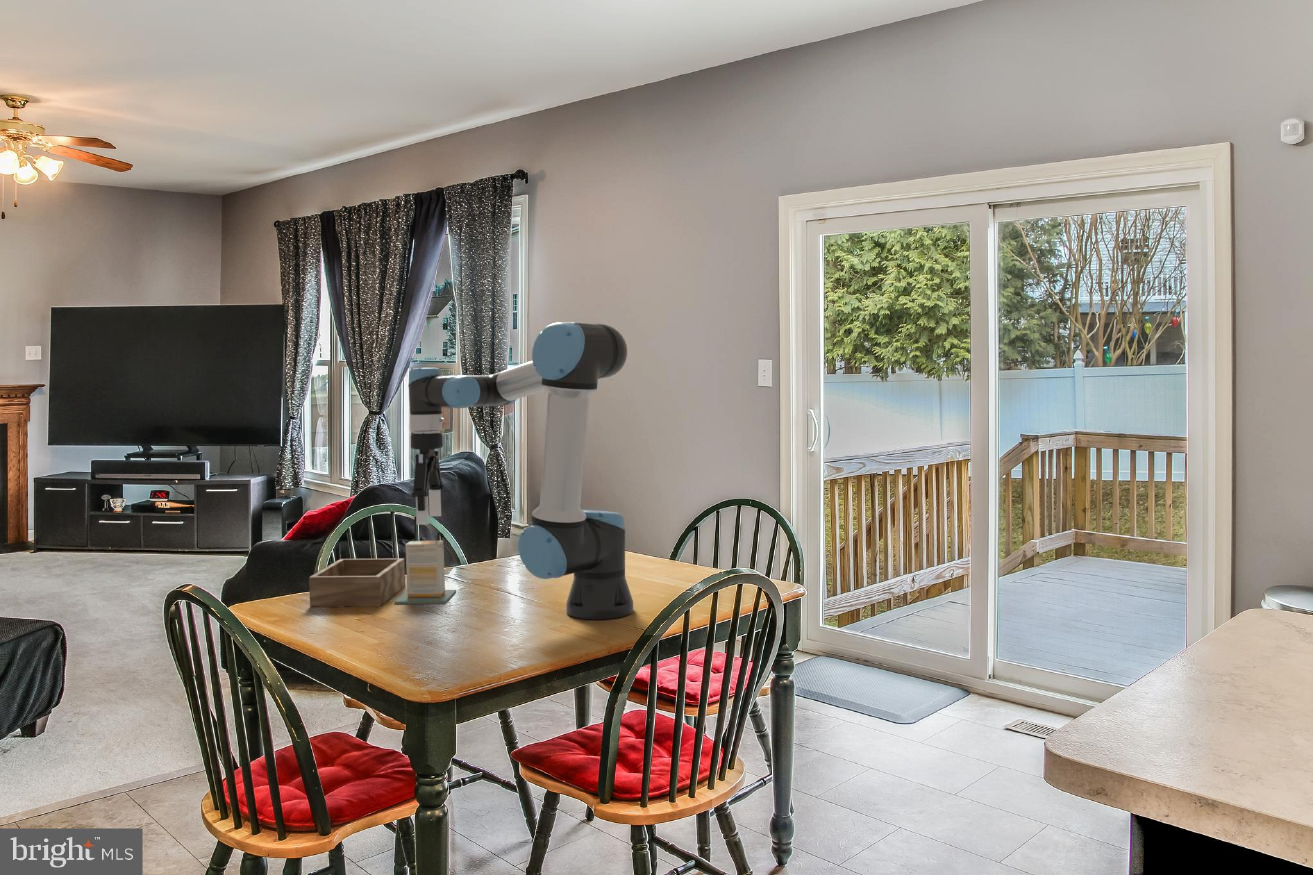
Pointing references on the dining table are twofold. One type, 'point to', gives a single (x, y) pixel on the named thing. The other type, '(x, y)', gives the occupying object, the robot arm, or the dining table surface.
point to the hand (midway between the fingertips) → (429, 520)
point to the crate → (357, 582)
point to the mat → (425, 599)
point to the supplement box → (425, 568)
